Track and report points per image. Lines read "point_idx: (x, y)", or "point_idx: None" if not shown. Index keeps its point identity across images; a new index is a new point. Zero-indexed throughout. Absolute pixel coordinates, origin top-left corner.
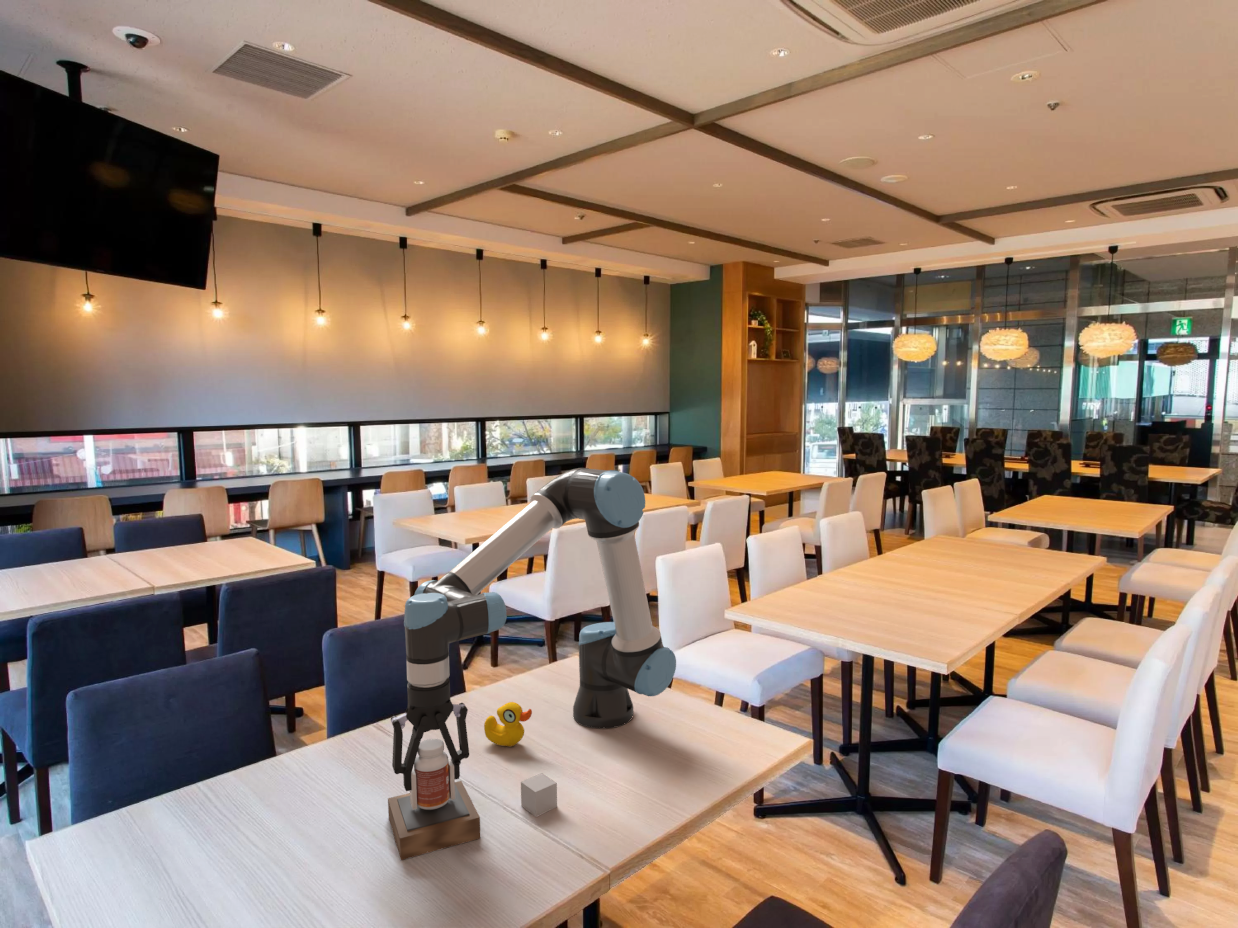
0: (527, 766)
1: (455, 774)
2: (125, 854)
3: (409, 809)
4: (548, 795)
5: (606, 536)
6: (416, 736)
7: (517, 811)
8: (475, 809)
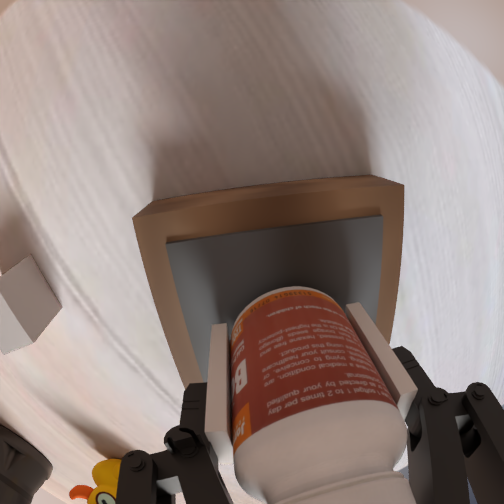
0: (77, 413)
1: (202, 398)
2: None
3: None
4: None
5: None
6: None
7: (67, 288)
8: (146, 269)
